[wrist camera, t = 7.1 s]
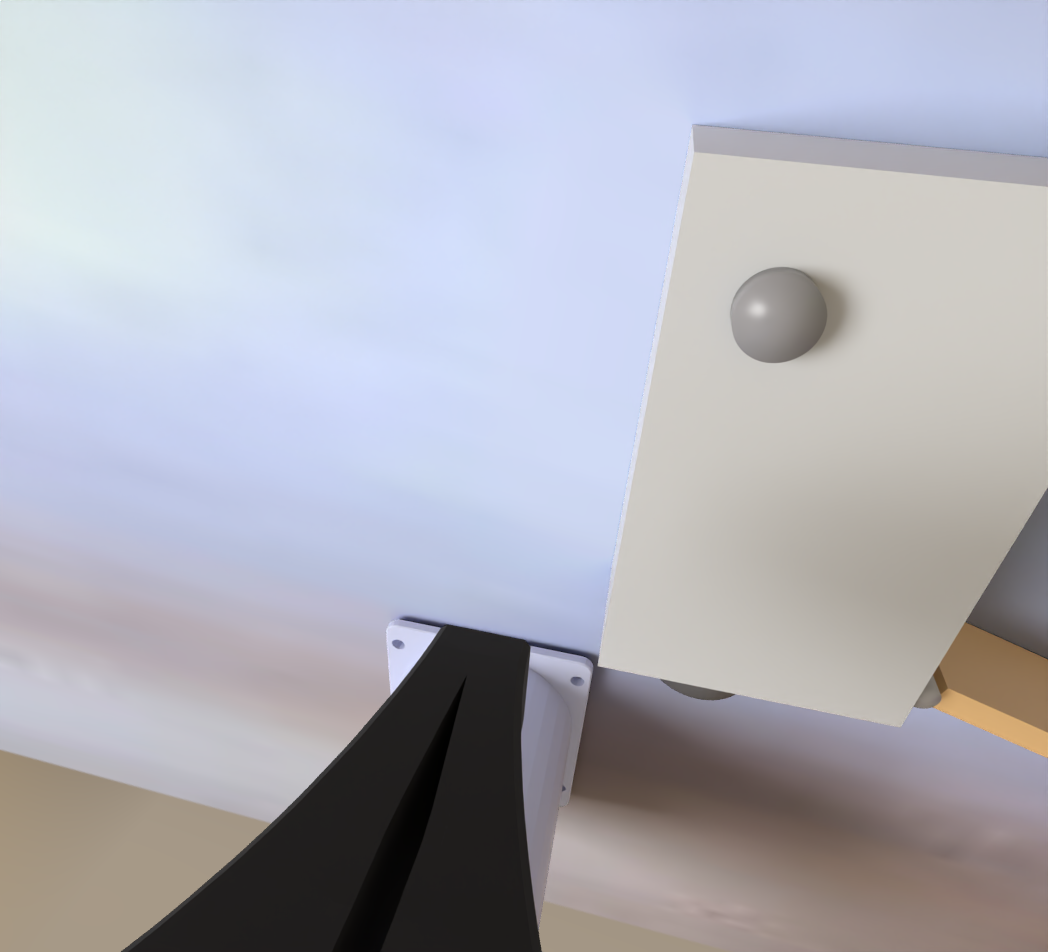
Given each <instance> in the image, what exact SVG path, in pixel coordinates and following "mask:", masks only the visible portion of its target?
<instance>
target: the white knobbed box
mask: <svg viewBox="0 0 1048 952" xmlns="http://www.w3.org/2000/svg"><path fill="white" fill-rule="evenodd" d="M1047 488H1048V158H1044V157H1034V156H1023V155H1012V154H1002V153H991V152H980V151H970V150H959V149H948V148H937V147H927V146H916V145H905V144H895V143H884V142H873V141H862V140H852V139H841V138H830V137H820V136H809V135H798V134H787V133H777V132H766V131H755V130H745V129H734V128H723V127H712V126H702V125H692V129H691V134H690V139H689V145H688V150H687V156H686V161H685V167H684V172H683V178H682V183H681V189H680V194H679V200H678V205H677V211H676V216H675V222H674V227H673V233H672V238H671V244H670V249H669V255H668V260H667V266H666V271H665V277H664V282H663V287H662V293H661V298H660V304H659V309H658V315H657V320H656V326H655V331H654V337H653V342H652V348H651V353H650V359H649V364H648V370H647V375H646V381H645V386H644V392H643V397H642V403H641V408H640V414H639V419H638V425H637V430H636V436H635V441H634V446H633V452H632V457H631V463H630V468H629V474H628V479H627V485H626V490H625V496H624V501H623V507H622V512H621V518H620V523H619V529H618V534H617V540H616V545H615V551H614V556H613V562H612V568H611V576H610V583H609V590H608V597H607V604H606V611H605V618H604V625H603V632H602V639H601V646H600V653H599V660H598V666H600V667H605V668H610V669H614V670H619V671H624V672H629V673H634V674H639V675H644V676H649V677H654V678H659V679H660V680H662V681H663V682H664V683H665V684H666V685H668V686H669V687H670V688H672V689H674V690H675V691H677V692H679V693H682V694H684V695H687V696H689V697H693V698H697V699H703V700H720V699H725V698H728V697H731V696H733V695H735V694H738V695H743V696H748V697H752V698H757V699H762V700H767V701H772V702H777V703H782V704H787V705H792V706H797V707H802V708H807V709H812V710H816V711H821V712H826V713H831V714H836V715H841V716H846V717H851V718H856V719H861V720H866V721H871V722H876V723H881V724H885V725H890V726H895V727H901V726H902V724H903V723H904V721H905V719H906V718H907V716H908V714H909V713H910V711H911V709H912V708H913V706H914V705H915V703H916V701H917V700H918V698H919V696H920V695H921V693H922V692H923V690H924V688H925V687H926V685H927V683H928V682H929V680H930V679H931V677H932V675H933V674H934V672H935V670H936V669H937V667H938V665H939V664H940V662H941V661H942V659H943V657H944V656H945V654H946V652H947V651H948V649H949V648H950V646H951V644H952V643H953V641H954V639H955V638H956V636H957V635H958V633H959V631H960V630H961V628H962V626H963V625H964V623H965V622H966V620H967V618H968V617H969V615H970V613H971V612H972V610H973V608H974V607H975V605H976V604H977V602H978V600H979V599H980V597H981V595H982V594H983V592H984V591H985V589H986V587H987V586H988V584H989V582H990V581H991V579H992V578H993V576H994V574H995V573H996V571H997V569H998V568H999V566H1000V564H1001V563H1002V561H1003V560H1004V558H1005V556H1006V555H1007V553H1008V551H1009V550H1010V548H1011V547H1012V545H1013V543H1014V542H1015V540H1016V538H1017V537H1018V535H1019V534H1020V532H1021V530H1022V529H1023V527H1024V525H1025V524H1026V522H1027V520H1028V519H1029V517H1030V516H1031V514H1032V512H1033V511H1034V509H1035V507H1036V506H1037V504H1038V503H1039V501H1040V499H1041V498H1042V496H1043V494H1044V493H1045V491H1046V490H1047Z"/></svg>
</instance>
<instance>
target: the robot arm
mask: <svg viewBox="0 0 1048 952" xmlns="http://www.w3.org/2000/svg"><path fill="white" fill-rule="evenodd" d="M386 638H387V652H388V665H389V679H390V692H391V696H390V697H389V698H388V699H387V700H386V702H385V703H384V704H383V705H382V706H381V707H380V709H379V710H378V711H377V712H376V713H375V714H374V716H373V717H372V718H371V719H370V720H369V721H368V723H367V724H366V725H365V726H364V727H363V728H362V730H361V731H360V732H359V733H358V734H357V735H356V737H355V738H354V739H353V740H352V741H351V742H350V743H349V744H348V745H347V747H346V748H345V749H344V750H343V751H342V752H341V753H340V754H339V755H338V756H337V757H336V758H335V759H334V760H333V761H332V763H331V764H330V765H329V766H328V767H327V768H326V769H325V770H324V771H323V772H322V773H321V774H320V775H319V776H318V777H317V778H316V779H315V780H314V782H313V783H312V784H311V785H310V786H309V787H308V788H307V789H306V790H305V791H304V792H303V793H302V794H301V795H300V796H299V797H298V798H297V799H296V800H295V801H294V802H293V803H292V804H291V805H290V806H289V807H288V808H287V809H286V810H285V811H284V812H283V813H282V814H281V815H280V816H279V817H278V818H277V819H276V820H275V821H273V822H272V823H271V824H270V825H269V826H268V827H267V828H266V829H265V830H264V831H263V832H262V833H261V834H260V835H259V836H257V837H256V838H255V839H254V840H253V841H252V842H251V843H250V844H249V845H248V846H247V847H246V848H245V849H243V851H241V852H240V853H239V854H238V855H237V856H236V857H235V858H234V859H233V860H231V861H230V862H229V863H228V864H227V865H226V866H224V867H223V868H222V869H221V870H220V871H219V872H217V873H216V874H215V875H214V876H213V877H212V878H211V879H209V880H208V881H207V882H206V883H205V884H204V885H202V886H201V887H200V888H199V889H198V890H197V891H196V892H194V893H193V894H192V895H191V896H190V897H189V898H187V899H186V900H185V901H184V902H183V903H181V904H180V905H179V906H178V907H177V908H176V909H174V910H173V911H172V912H171V913H169V914H168V915H167V916H166V917H164V918H163V919H162V920H161V921H160V922H158V923H157V924H156V925H155V926H153V927H152V928H151V929H150V930H148V931H147V932H146V933H144V934H143V935H142V936H141V937H139V938H138V939H137V940H135V941H134V942H133V943H132V944H130V945H129V946H128V947H126V948H125V949H124V950H123V951H121V952H542V951H541V945H540V939H539V932H538V930H539V924H540V917H541V912H542V905H543V900H544V894H545V888H546V882H547V876H548V870H549V864H550V858H551V852H552V846H553V840H554V834H555V828H556V822H557V816H558V810H559V807H563V806H566V805H568V803H569V799H570V794H571V788H572V783H573V777H574V772H575V766H576V761H577V755H578V750H579V744H580V739H581V734H582V728H583V723H584V717H585V712H586V706H587V701H588V695H589V690H590V684H591V679H592V673H593V664H592V662H591V661H590V660H589V659H587V658H586V657H583V656H579V655H574V654H569V653H564V652H559V651H554V650H549V649H544V648H539V647H534V646H529V644H528V643H527V642H526V641H525V640H521V639H516V638H512V637H507V636H502V635H497V634H492V633H487V632H482V631H477V630H472V629H467V628H462V627H457V626H453V625H446V626H444V627H442V628H440V627H435V626H430V625H425V624H420V623H415V622H410V621H405V620H397V619H396V620H393V621H391V622H390V623H389V625H388V627H387V630H386ZM577 677H580V678H577Z"/></svg>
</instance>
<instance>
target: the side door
mask: <svg viewBox="0 0 1048 952" xmlns="http://www.w3.org/2000/svg"><path fill="white" fill-rule="evenodd" d="M914 707H917V708H931V707H933V708H936V709H938V710H940V711H942V712H945V713H947V714H949V715H951V716H954V717H956V718H958V719H960V720H963V721H965V722H967V723H969V724H972V725H974V726H976V727H979V728H981V729H983V730H985V731H988V732H990V733H992V734H994V735H997V736H999V737H1001V738H1003V739H1006V740H1008V741H1010V742H1012V743H1015V744H1017V745H1019V746H1021V747H1024V748H1026V749H1028V750H1030V751H1033V752H1035V753H1037V754H1040V755H1042V756H1044V757H1046V758H1048V659H1046V658H1044V657H1041V656H1039V655H1037V654H1035V653H1033V652H1030V651H1028V650H1026V649H1024V648H1021V647H1019V646H1017V645H1015V644H1013V643H1010V642H1008V641H1006V640H1004V639H1002V638H999V637H997V636H995V635H993V634H990V633H988V632H986V631H984V630H982V629H979V628H977V627H975V626H973V625H970V624H968V623H966V622H965V623H964V625H963V626H962V628H961V630H960V631H959V633H958V635H957V636H956V638H955V639H954V641H953V643H952V644H951V646H950V648H949V649H948V651H947V652H946V654H945V656H944V657H943V659H942V661H941V662H940V664H939V665H938V667H937V669H936V670H935V672H934V674H933V675H932V677H931V679H930V680H929V682H928V683H927V685H926V687H925V688H924V690H923V692H922V693H921V695H920V696H919V698H918V700H917V701H916V703H915V705H914Z"/></svg>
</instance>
